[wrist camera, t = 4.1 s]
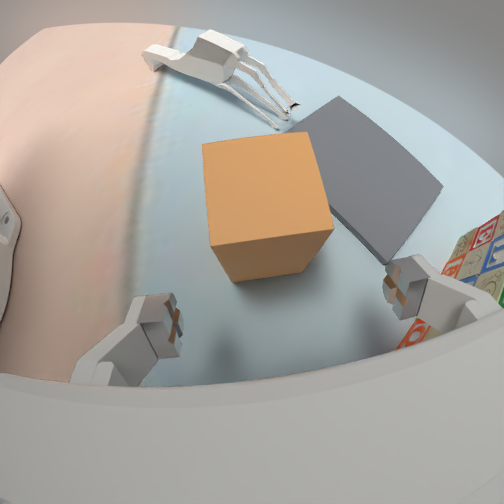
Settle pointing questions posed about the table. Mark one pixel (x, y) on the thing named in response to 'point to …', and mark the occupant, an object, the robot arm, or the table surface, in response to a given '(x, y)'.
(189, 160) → the table surface
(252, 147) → the orange block
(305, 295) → the table surface
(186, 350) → the table surface
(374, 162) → the slate mat
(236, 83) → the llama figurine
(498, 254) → the stack of blocks
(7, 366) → the table surface
